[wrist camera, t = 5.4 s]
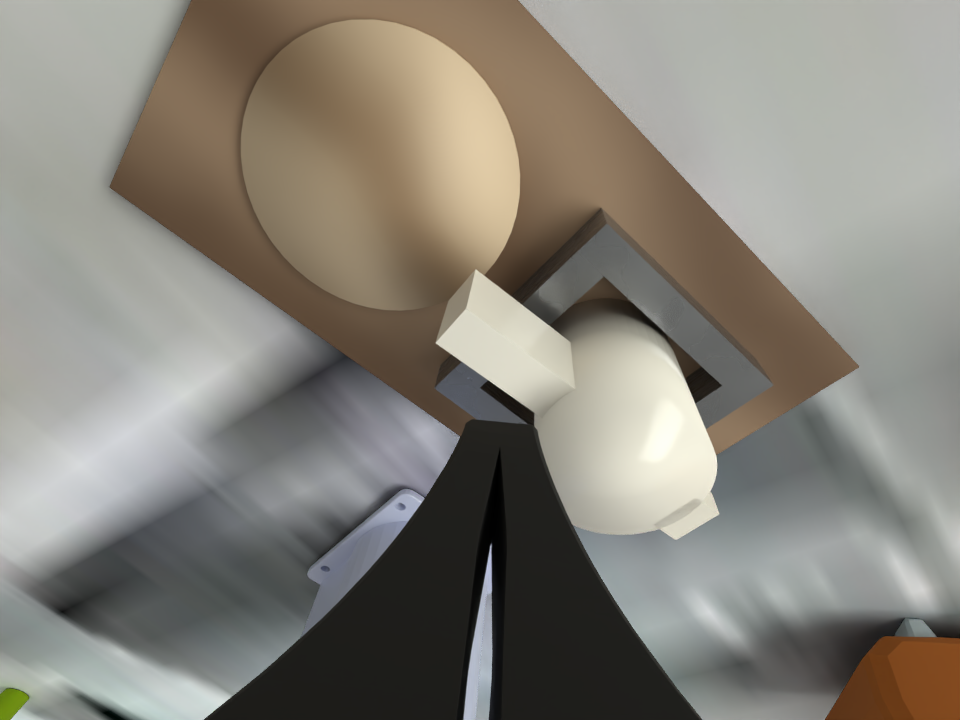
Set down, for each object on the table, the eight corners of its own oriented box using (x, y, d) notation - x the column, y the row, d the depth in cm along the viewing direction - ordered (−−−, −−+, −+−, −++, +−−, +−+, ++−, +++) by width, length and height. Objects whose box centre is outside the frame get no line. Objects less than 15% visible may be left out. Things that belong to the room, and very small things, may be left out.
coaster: (409, 349, 21) (408, 353, 20) (199, 193, 18) (195, 195, 18) (580, 172, 17) (580, 174, 16) (340, -65, 14) (337, -67, 14)
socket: (588, 475, 23) (591, 503, 22) (440, 364, 21) (433, 388, 20) (757, 360, 20) (774, 385, 18) (601, 207, 17) (606, 223, 16)
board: (592, 520, 26) (593, 530, 25) (120, 182, 19) (109, 187, 18) (851, 358, 20) (859, 367, 19) (305, -228, 13) (296, -239, 12)
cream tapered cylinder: (708, 361, 20) (770, 483, 15) (611, 437, 22) (634, 565, 17) (516, 200, 17) (508, 278, 12) (428, 305, 20) (389, 408, 14)
